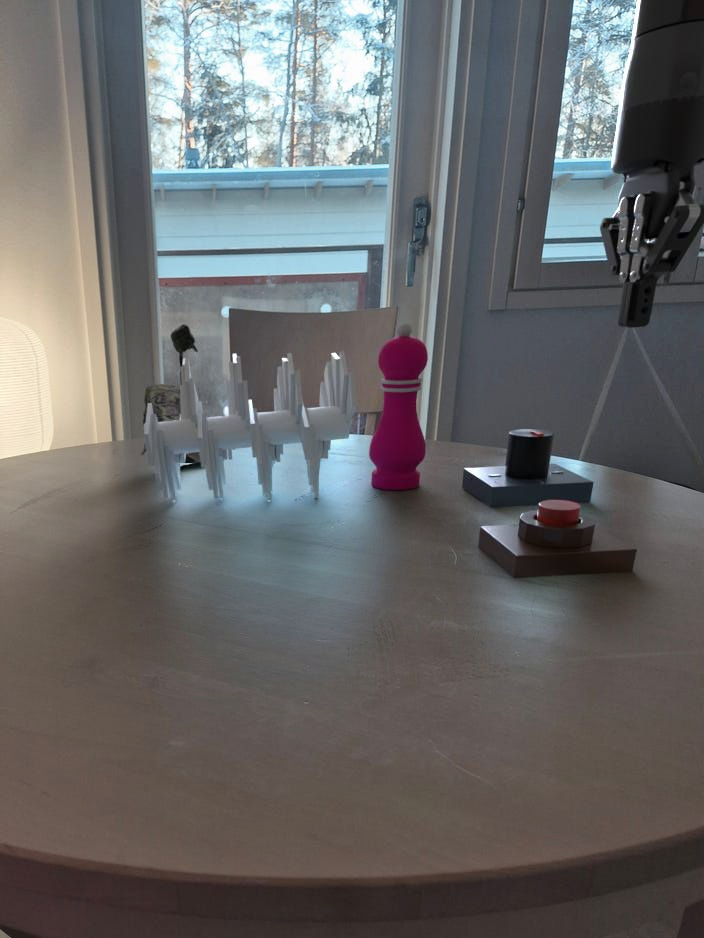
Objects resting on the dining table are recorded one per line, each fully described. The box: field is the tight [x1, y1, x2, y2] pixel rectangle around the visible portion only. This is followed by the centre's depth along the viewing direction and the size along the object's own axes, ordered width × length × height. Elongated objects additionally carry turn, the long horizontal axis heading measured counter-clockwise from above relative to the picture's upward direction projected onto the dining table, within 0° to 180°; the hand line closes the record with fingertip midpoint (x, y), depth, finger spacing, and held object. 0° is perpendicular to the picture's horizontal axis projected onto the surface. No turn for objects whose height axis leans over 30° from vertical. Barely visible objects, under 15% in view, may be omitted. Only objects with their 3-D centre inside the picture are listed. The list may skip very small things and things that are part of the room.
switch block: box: [477, 509, 638, 579], centre depth 70 cm, size 11×9×4 cm
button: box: [536, 500, 582, 526], centre depth 69 cm, size 4×4×2 cm
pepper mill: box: [368, 322, 429, 491], centre depth 95 cm, size 7×7×20 cm
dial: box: [504, 428, 555, 479], centre depth 90 cm, size 5×5×5 cm
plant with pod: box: [140, 323, 201, 464], centre depth 111 cm, size 8×11×20 cm
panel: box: [461, 463, 594, 509], centre depth 92 cm, size 12×10×3 cm
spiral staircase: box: [143, 350, 358, 501], centre depth 92 cm, size 18×18×25 cm
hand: (632, 326), depth 69 cm, fingers closed
